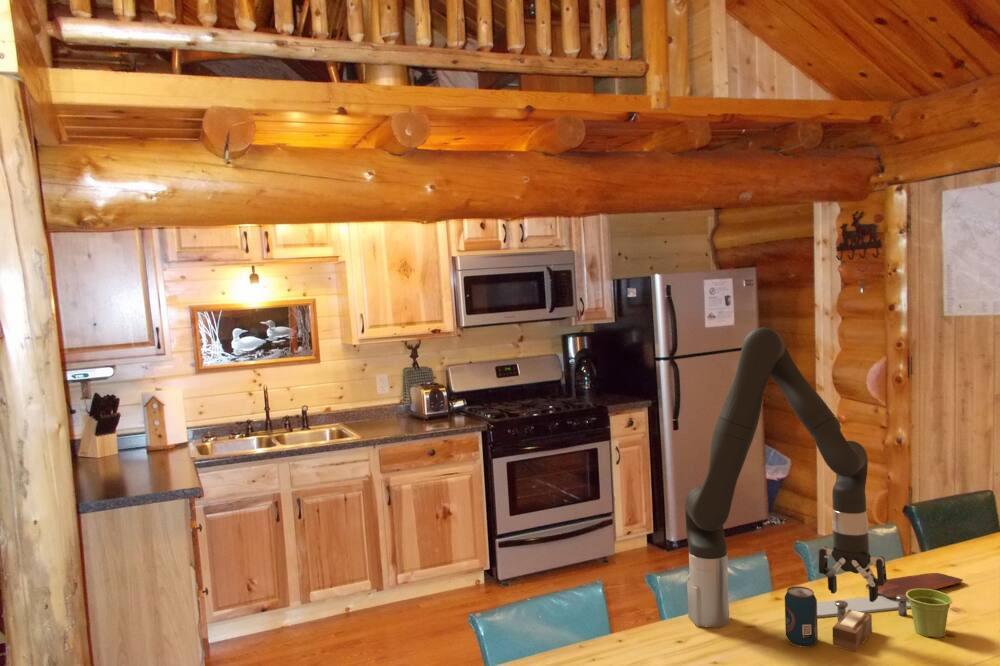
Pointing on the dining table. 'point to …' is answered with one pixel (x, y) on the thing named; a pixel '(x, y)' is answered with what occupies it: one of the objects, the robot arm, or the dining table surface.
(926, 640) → the dining table surface
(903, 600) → the metal bolt
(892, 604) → the wall strip
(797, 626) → the soda can
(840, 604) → the metal screw
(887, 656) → the dining table surface
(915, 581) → the brown flat slab
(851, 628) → the wooden box
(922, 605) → the plant pot
